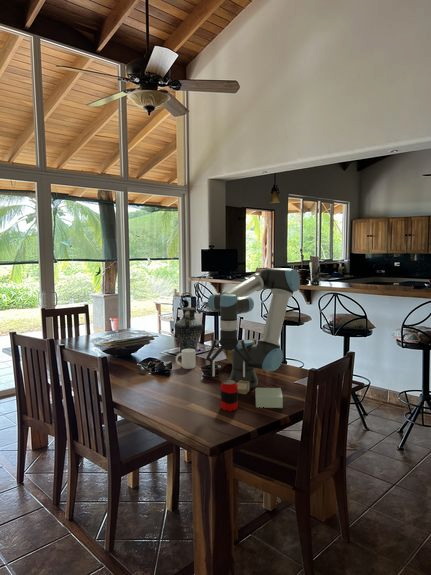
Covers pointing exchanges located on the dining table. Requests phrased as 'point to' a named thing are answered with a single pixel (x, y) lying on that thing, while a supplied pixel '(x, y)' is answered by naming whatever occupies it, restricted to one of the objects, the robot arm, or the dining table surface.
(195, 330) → the jug
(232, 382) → the soda can
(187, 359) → the mug
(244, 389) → the maple cube
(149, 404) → the dining table surface
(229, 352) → the olive yellow teapot
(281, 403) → the green block
